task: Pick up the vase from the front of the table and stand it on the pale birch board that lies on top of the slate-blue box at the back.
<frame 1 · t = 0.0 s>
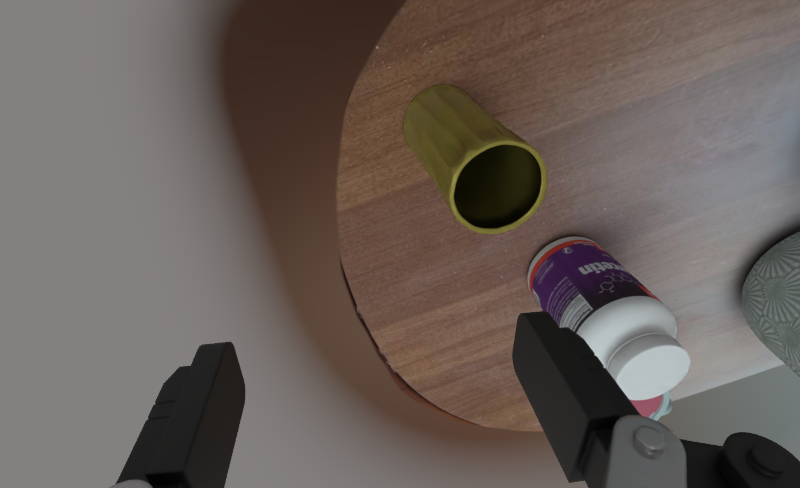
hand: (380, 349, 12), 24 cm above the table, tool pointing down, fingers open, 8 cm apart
pill bottle: (560, 265, 42), on the table
vase: (439, 123, 33), on the table
planter: (784, 267, 46), on the table
mug: (585, 341, 48), on the table
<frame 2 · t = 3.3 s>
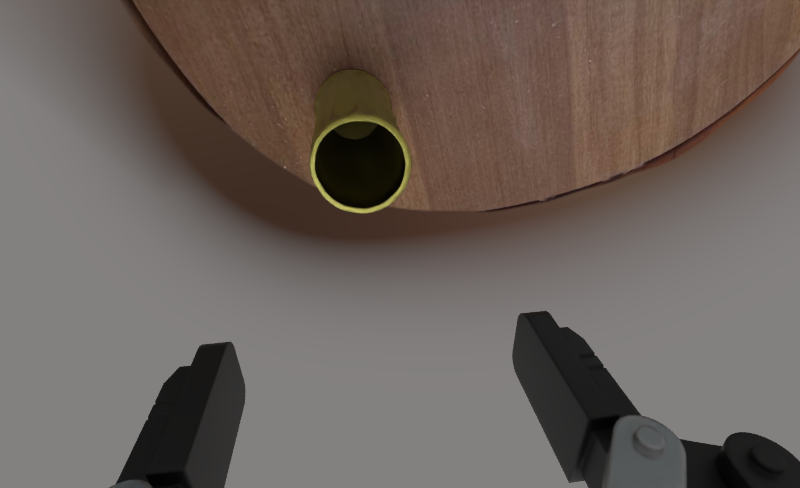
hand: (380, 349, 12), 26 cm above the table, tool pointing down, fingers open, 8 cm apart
vase: (353, 109, 33), on the table
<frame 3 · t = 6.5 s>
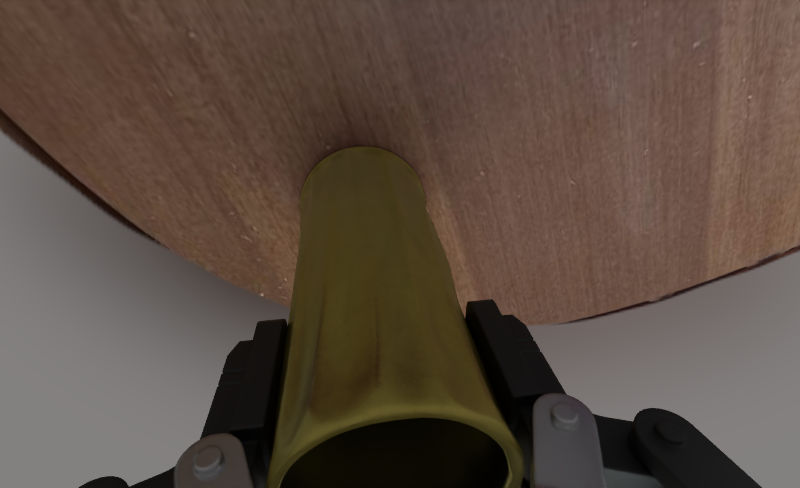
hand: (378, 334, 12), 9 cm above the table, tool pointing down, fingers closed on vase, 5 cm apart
vase: (362, 204, 21), on the table, touching gripper
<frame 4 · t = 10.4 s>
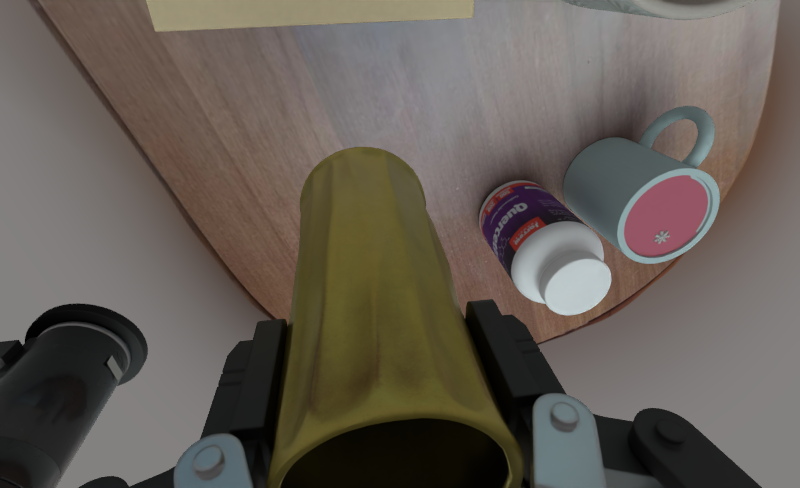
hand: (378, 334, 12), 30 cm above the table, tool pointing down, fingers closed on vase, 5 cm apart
pill bottle: (511, 211, 45), on the table
vase: (363, 204, 21), point 20 cm above the table, touching gripper
mug: (615, 159, 44), on the table
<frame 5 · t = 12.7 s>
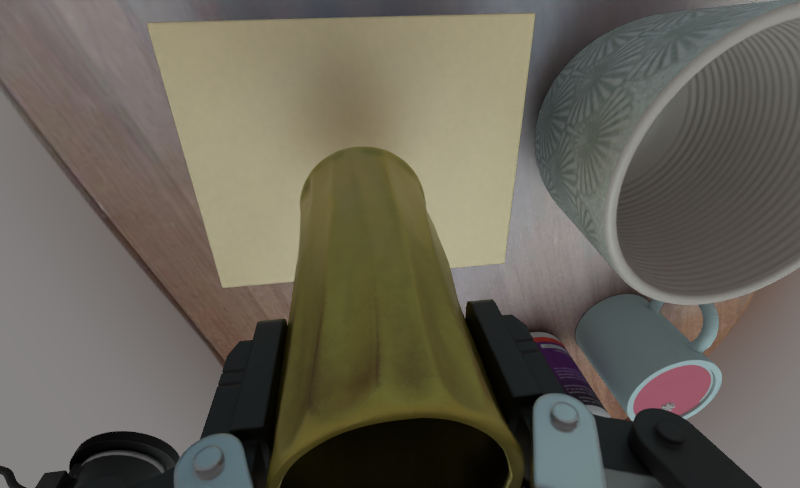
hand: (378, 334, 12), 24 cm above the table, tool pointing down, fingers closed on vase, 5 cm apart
pill bottle: (526, 352, 48), on the table
vase: (362, 204, 21), point 15 cm above the table, touching gripper
planter: (601, 116, 35), on the table
mug: (624, 310, 47), on the table
box: (355, 129, 33), on the table
when the fingers open (19 cm above the table, at t = 14.5 s): vase stays where it is, resting on box.
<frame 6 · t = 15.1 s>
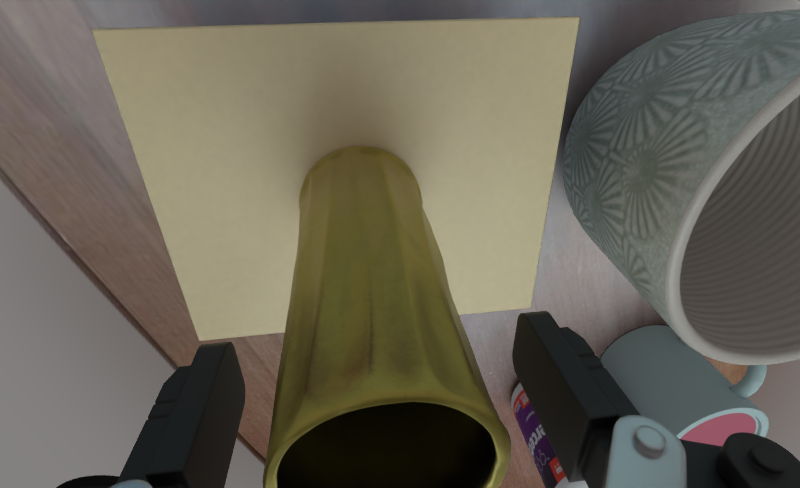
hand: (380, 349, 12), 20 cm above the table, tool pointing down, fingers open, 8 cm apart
pill bottle: (543, 387, 44), on the table
vase: (360, 202, 21), point 9 cm above the table, touching box
planter: (635, 133, 31), on the table
mug: (652, 341, 43), on the table
box: (356, 149, 29), on the table
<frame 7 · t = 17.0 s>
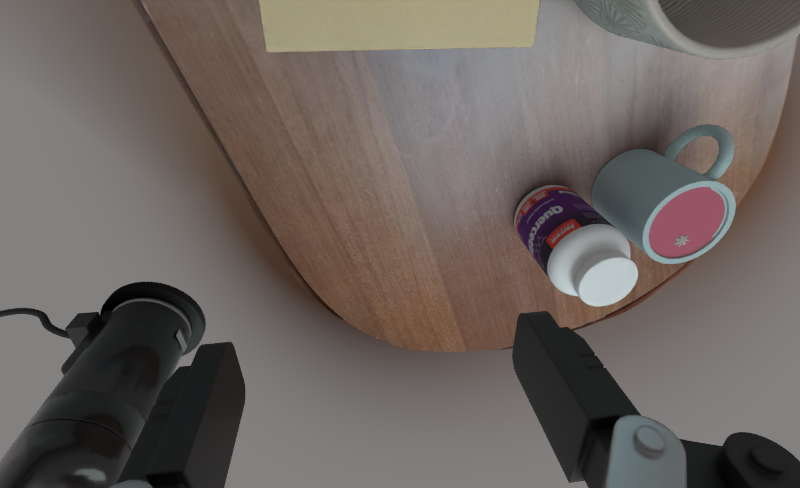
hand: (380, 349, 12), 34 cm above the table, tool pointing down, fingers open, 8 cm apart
pill bottle: (542, 212, 50), on the table
mug: (640, 168, 48), on the table
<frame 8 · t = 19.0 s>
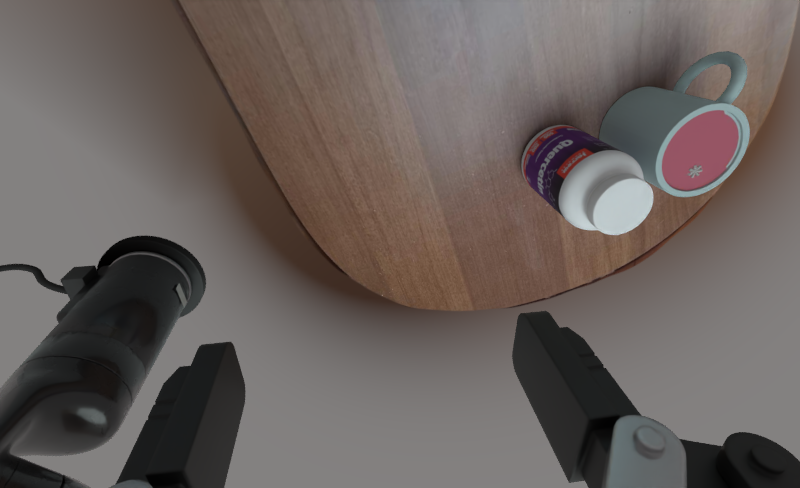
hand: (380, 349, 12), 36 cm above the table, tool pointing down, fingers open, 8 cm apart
pill bottle: (550, 156, 49), on the table
mug: (648, 108, 47), on the table
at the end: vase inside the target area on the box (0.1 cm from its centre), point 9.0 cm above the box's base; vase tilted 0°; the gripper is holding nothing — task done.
